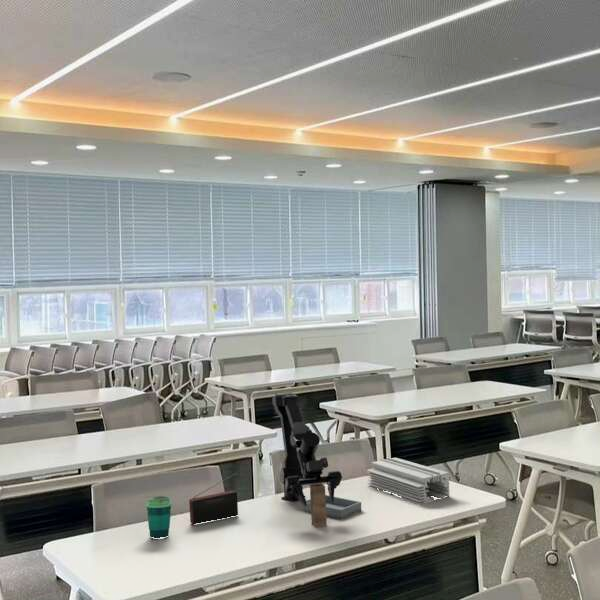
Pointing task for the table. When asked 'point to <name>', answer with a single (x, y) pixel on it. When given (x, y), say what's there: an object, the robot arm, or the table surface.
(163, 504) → the cup
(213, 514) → the radio
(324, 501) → the block
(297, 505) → the table surface
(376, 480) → the aluminum extrusion profile
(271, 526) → the table surface
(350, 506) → the tray
